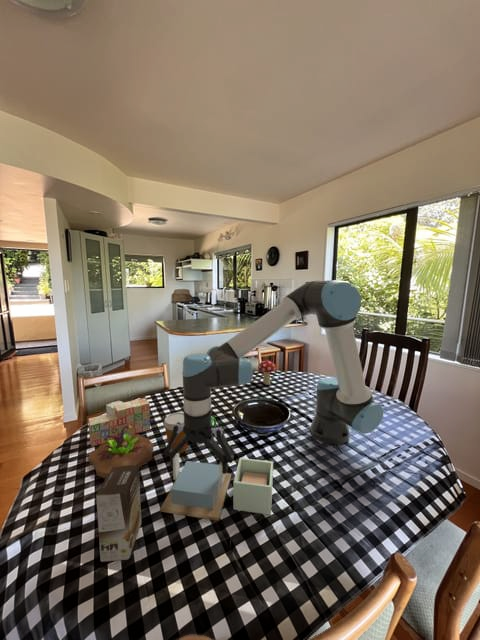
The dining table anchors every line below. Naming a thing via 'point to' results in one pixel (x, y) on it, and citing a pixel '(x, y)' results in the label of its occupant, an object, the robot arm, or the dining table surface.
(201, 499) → the lid
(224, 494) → the cork mat
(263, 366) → the decorative mushroom
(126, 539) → the coffee box
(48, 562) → the dining table surface
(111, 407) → the skincare box
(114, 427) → the stack of blocks
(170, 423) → the disposable coffee cup
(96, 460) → the plant
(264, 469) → the storage box
